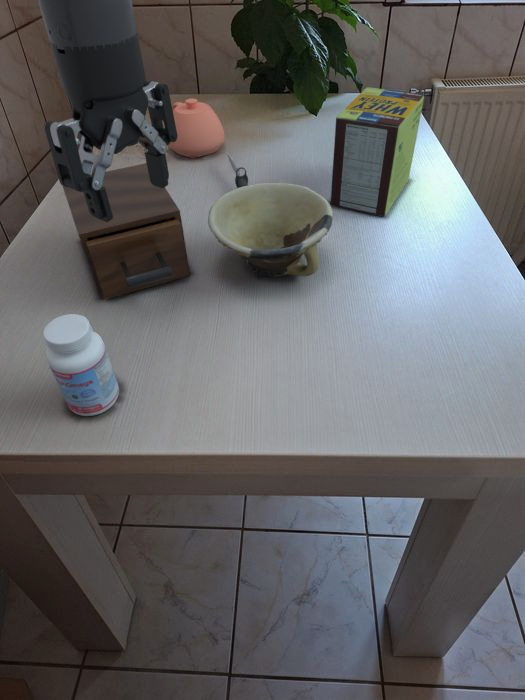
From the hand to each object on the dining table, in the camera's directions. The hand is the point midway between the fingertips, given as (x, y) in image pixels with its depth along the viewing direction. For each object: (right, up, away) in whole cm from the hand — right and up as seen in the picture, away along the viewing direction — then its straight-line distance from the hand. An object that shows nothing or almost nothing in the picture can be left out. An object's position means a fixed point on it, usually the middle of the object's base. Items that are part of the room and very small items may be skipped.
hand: (133, 201), depth 55 cm
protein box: (+34, +13, +38) cm, 53 cm away
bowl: (+16, -3, +22) cm, 28 cm away
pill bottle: (-6, -22, +5) cm, 23 cm away
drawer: (-5, -4, +21) cm, 22 cm away
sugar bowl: (0, +28, +54) cm, 61 cm away
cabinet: (-7, -1, +25) cm, 26 cm away
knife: (+10, +15, +41) cm, 44 cm away
